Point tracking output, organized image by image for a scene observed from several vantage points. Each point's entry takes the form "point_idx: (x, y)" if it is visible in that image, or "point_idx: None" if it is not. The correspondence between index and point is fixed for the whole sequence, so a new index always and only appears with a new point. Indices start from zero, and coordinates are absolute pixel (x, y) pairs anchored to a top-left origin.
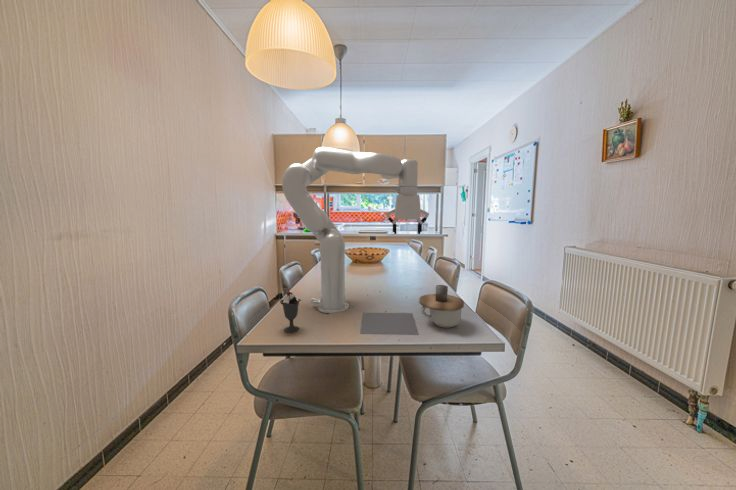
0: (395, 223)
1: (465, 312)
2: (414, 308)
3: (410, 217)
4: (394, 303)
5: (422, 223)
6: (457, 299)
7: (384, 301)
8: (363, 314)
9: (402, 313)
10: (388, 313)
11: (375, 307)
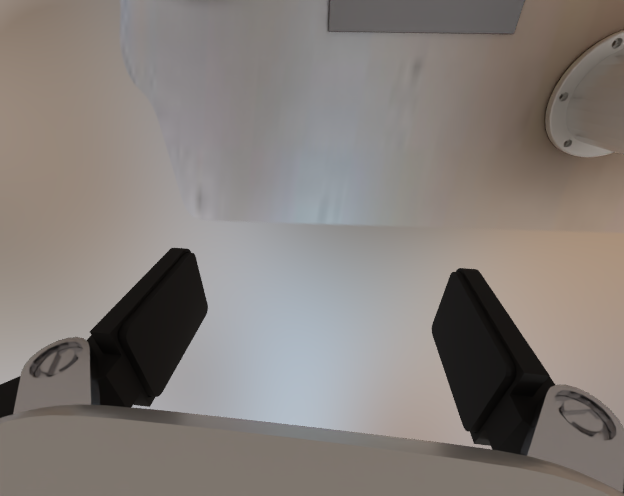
0: (522, 409)
1: (151, 59)
2: (312, 100)
3: (196, 479)
4: (370, 152)
5: (48, 347)
6: None
7: (400, 173)
8: (520, 6)
9: (365, 24)
10: (417, 22)
11: (445, 110)
